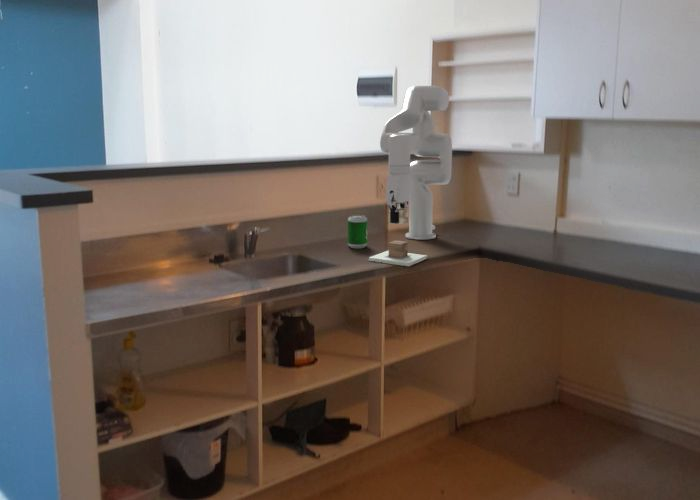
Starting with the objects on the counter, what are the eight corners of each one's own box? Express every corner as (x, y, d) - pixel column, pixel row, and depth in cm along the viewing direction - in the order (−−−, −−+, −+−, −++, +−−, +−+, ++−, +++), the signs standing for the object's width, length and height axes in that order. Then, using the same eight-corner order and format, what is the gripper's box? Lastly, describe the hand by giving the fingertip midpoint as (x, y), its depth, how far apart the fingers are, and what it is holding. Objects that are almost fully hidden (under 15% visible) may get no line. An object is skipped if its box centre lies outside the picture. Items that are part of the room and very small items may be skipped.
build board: (388, 253, 264) (388, 249, 264) (426, 258, 256) (427, 255, 255) (368, 260, 253) (368, 257, 252) (408, 266, 244) (408, 262, 244)
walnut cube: (395, 253, 257) (395, 240, 256) (407, 255, 255) (407, 241, 254) (388, 256, 253) (388, 242, 252) (400, 258, 251) (401, 244, 250)
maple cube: (395, 221, 255) (396, 207, 254) (408, 222, 252) (408, 208, 251) (388, 223, 250) (389, 209, 249) (401, 224, 248) (401, 210, 247)
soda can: (365, 249, 272) (365, 218, 269) (346, 248, 273) (345, 217, 271) (368, 245, 279) (368, 215, 276) (349, 244, 280) (349, 214, 278)
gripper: (401, 167, 256) (400, 217, 260) (377, 171, 242) (377, 224, 246) (420, 168, 252) (418, 219, 256) (396, 173, 238) (396, 226, 242)
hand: (398, 221), depth 251 cm, fingers closed on maple cube, 4 cm apart
